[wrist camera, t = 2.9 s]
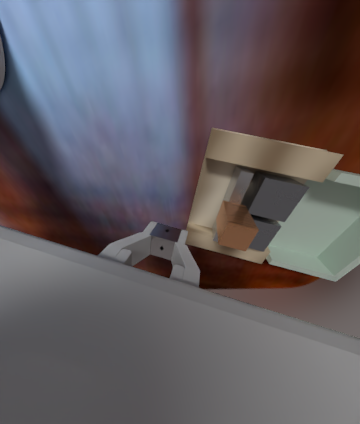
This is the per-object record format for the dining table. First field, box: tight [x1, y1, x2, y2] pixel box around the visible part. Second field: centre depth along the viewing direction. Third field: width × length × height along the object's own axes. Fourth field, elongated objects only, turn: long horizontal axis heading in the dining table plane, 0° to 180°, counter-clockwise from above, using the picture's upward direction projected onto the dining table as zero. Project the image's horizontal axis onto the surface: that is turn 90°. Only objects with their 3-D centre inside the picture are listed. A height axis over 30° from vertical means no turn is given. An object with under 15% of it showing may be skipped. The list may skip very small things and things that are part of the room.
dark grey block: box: [242, 171, 310, 222], centre depth 15 cm, size 4×4×3 cm
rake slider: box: [212, 166, 259, 251], centre depth 14 cm, size 2×9×7 cm, turn 170°
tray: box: [266, 169, 360, 281], centre depth 16 cm, size 8×12×4 cm
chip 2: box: [248, 214, 281, 252], centre depth 17 cm, size 4×4×3 cm
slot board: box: [185, 128, 343, 264], centre depth 17 cm, size 12×15×3 cm
